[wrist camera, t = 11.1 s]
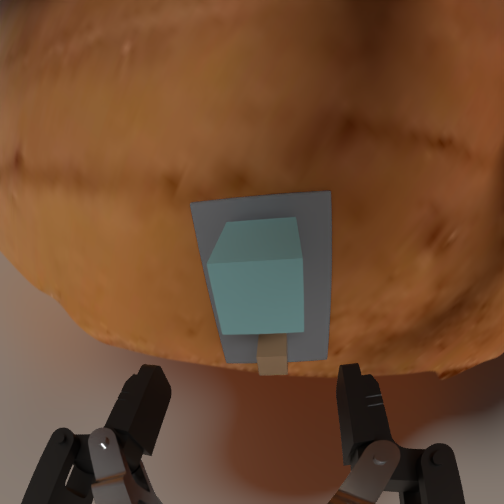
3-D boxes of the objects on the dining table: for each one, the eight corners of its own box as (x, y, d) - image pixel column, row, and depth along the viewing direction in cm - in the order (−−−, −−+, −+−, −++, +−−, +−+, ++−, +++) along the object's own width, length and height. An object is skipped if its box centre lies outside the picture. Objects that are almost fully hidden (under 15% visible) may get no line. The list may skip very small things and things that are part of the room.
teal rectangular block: (226, 222, 21) (206, 263, 15) (296, 216, 21) (302, 258, 15) (236, 281, 24) (222, 334, 18) (298, 277, 23) (304, 331, 17)
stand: (191, 202, 22) (156, 239, 16) (330, 190, 21) (353, 224, 14) (227, 360, 30) (215, 414, 24) (326, 356, 29) (333, 412, 22)
